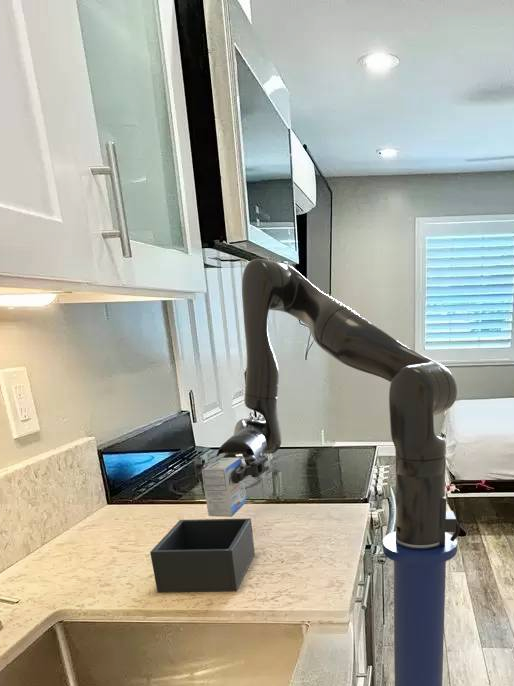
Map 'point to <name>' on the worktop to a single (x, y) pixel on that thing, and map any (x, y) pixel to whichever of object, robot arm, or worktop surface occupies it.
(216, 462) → the medicine box
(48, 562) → the worktop surface
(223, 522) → the storage bin
